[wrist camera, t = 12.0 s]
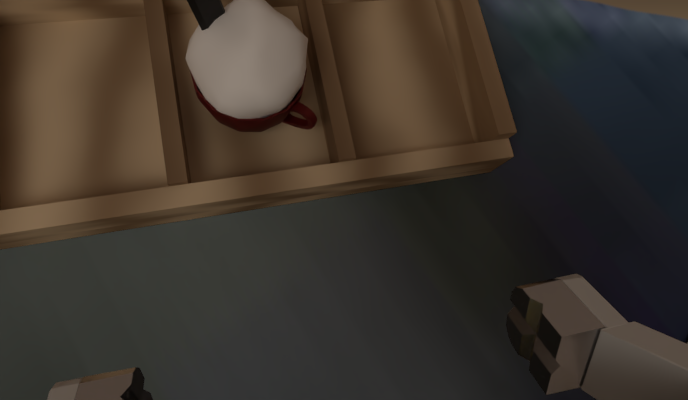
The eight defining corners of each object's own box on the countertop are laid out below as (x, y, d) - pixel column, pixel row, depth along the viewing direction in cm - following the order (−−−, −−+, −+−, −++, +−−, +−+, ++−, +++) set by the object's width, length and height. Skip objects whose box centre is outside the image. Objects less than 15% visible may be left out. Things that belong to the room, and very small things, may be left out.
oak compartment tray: (439, -8, 36) (462, -50, 32) (489, 172, 33) (522, 151, 29) (-23, 21, 29) (-66, -27, 25) (-12, 251, 26) (-59, 237, 22)
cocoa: (324, 134, 31) (385, 25, 19) (235, 179, 29) (243, 88, 17) (249, 9, 31) (263, -167, 20) (156, 45, 29) (114, -127, 18)
